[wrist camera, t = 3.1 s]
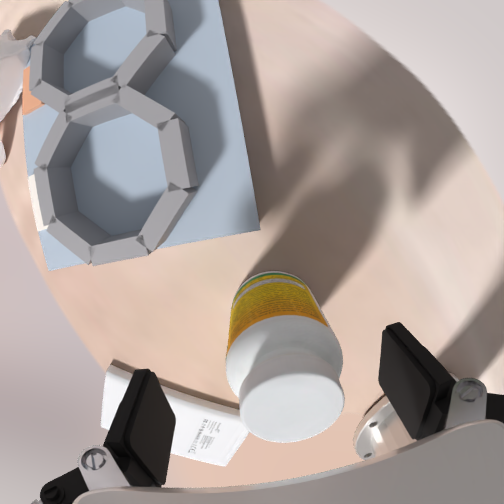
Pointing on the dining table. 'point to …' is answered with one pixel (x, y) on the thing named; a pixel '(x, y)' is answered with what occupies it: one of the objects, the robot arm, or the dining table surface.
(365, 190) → the dining table surface
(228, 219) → the socket board
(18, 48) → the white figurine
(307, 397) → the supplement bottle
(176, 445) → the external hard drive
